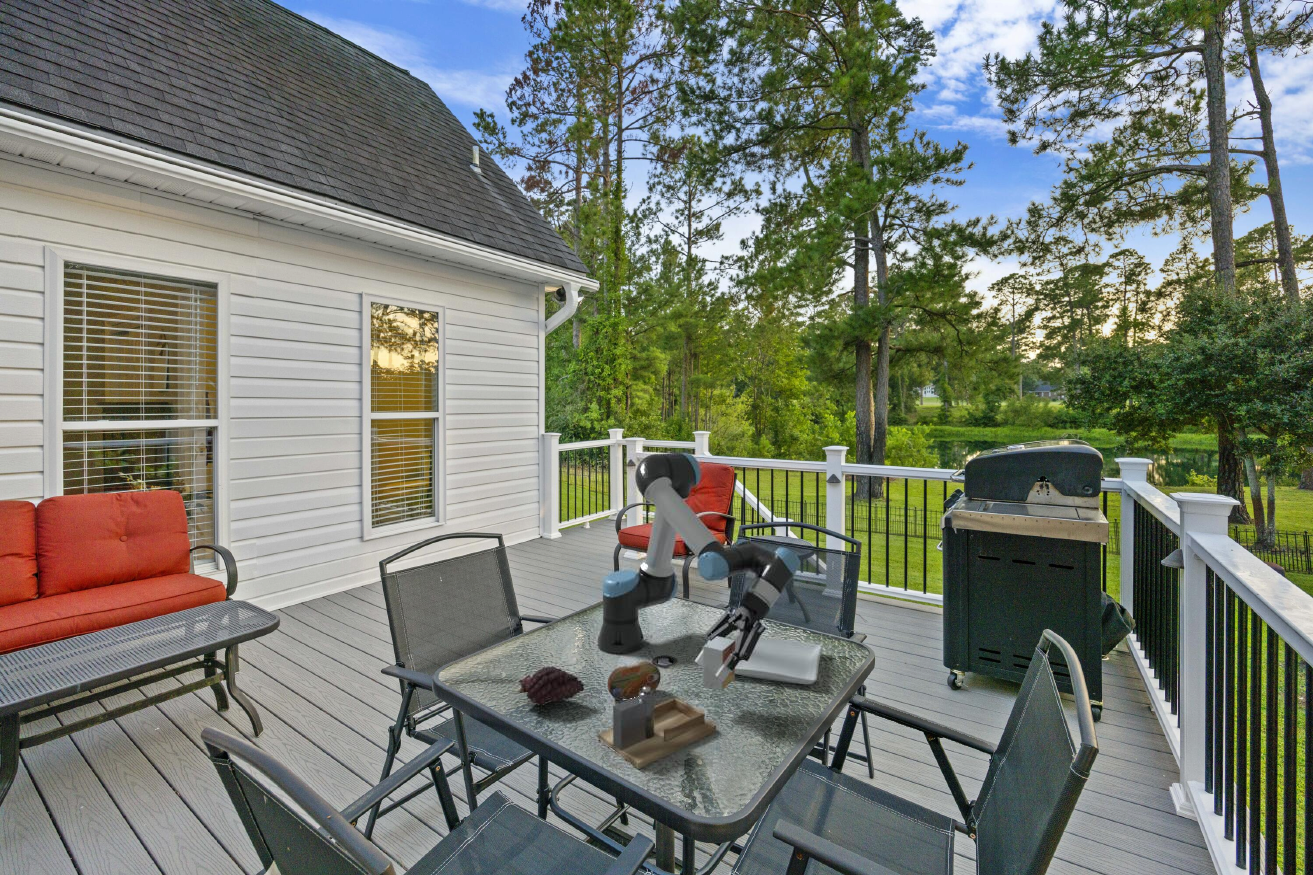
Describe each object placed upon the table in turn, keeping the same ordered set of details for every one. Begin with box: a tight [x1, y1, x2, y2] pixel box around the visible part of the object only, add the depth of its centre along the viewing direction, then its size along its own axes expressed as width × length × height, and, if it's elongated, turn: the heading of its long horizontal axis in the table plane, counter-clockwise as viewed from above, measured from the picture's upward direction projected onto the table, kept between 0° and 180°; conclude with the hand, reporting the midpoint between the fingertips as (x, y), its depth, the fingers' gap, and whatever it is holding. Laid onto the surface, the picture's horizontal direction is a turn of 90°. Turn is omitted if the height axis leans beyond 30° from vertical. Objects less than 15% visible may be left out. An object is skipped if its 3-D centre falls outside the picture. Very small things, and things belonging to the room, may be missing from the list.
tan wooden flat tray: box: [597, 697, 717, 770], centre depth 142 cm, size 15×24×4 cm, turn 130°
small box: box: [702, 636, 736, 692], centre depth 154 cm, size 8×6×10 cm
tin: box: [606, 661, 661, 702], centre depth 162 cm, size 15×3×8 cm, turn 117°
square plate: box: [734, 634, 823, 685], centre depth 181 cm, size 27×27×4 cm
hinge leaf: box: [612, 686, 655, 751], centre depth 138 cm, size 4×10×11 cm, turn 130°
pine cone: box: [518, 666, 585, 706], centre depth 157 cm, size 18×10×10 cm, turn 85°
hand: (708, 671), depth 153 cm, fingers closed on small box, 8 cm apart
